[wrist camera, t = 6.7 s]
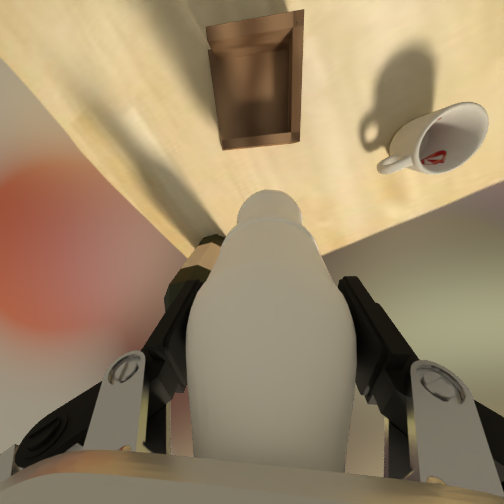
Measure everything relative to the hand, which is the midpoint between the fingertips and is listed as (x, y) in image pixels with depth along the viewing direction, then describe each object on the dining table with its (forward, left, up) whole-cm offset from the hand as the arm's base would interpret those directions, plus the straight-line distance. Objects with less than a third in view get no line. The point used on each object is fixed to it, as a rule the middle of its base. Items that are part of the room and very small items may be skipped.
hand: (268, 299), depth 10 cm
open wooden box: (-5, -13, -29) cm, 32 cm away
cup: (-23, +4, -29) cm, 37 cm away
